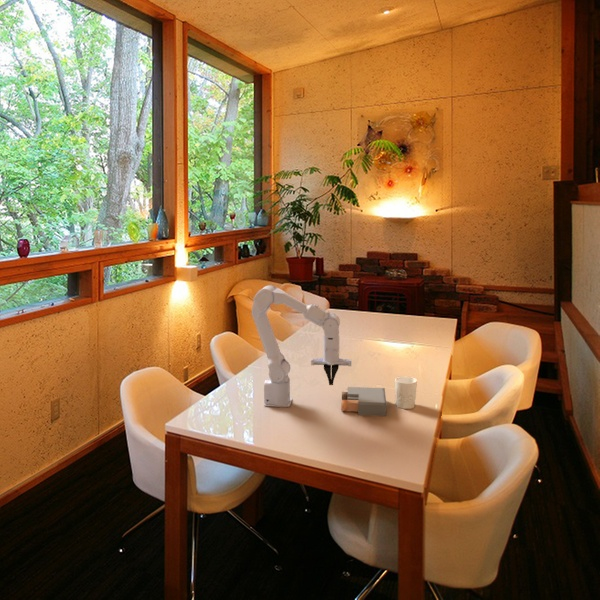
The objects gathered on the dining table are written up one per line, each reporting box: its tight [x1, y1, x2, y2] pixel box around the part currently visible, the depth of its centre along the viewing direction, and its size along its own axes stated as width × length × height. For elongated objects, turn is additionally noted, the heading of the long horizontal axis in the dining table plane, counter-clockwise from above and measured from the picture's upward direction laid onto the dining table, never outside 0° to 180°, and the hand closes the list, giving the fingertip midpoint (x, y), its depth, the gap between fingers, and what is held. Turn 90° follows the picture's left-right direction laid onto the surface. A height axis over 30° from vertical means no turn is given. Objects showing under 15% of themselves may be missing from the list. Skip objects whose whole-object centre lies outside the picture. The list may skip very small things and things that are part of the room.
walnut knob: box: [341, 391, 348, 401], centre depth 193 cm, size 11×4×4 cm, turn 83°
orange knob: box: [340, 399, 358, 412], centre depth 185 cm, size 11×4×4 cm, turn 83°
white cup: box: [394, 375, 418, 410], centre depth 189 cm, size 8×8×10 cm
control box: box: [347, 386, 387, 417], centre depth 188 cm, size 14×14×5 cm
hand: (331, 384), depth 189 cm, fingers closed
